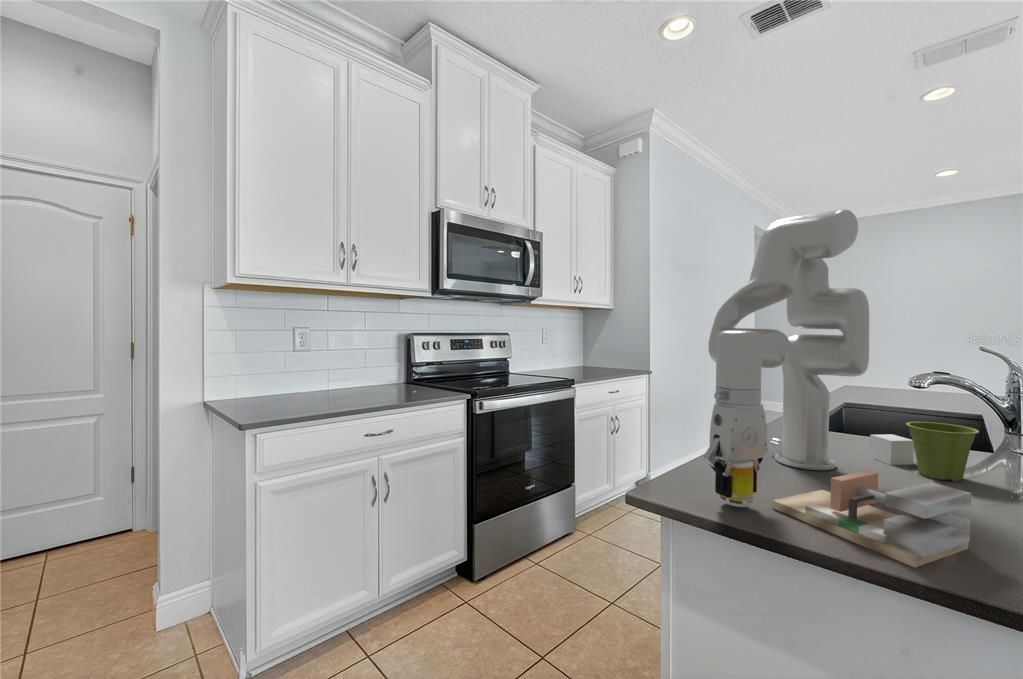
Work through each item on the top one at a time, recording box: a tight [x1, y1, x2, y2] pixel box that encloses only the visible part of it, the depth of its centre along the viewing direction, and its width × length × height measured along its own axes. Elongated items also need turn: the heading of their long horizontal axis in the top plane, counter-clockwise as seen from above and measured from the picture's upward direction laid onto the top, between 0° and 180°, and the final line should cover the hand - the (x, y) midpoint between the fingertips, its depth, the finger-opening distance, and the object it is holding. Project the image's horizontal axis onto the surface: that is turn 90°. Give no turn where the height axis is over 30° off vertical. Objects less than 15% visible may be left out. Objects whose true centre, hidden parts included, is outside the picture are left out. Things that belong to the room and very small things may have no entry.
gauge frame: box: [771, 481, 972, 569], centre depth 76 cm, size 22×14×9 cm, turn 22°
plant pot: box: [905, 421, 980, 482], centre depth 101 cm, size 12×12×11 cm
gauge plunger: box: [830, 470, 964, 529], centre depth 71 cm, size 15×11×5 cm
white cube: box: [869, 433, 915, 466], centre depth 113 cm, size 6×6×6 cm
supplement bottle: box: [719, 460, 754, 508], centre depth 84 cm, size 6×6×10 cm
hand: (735, 491), depth 84 cm, fingers closed on supplement bottle, 5 cm apart
